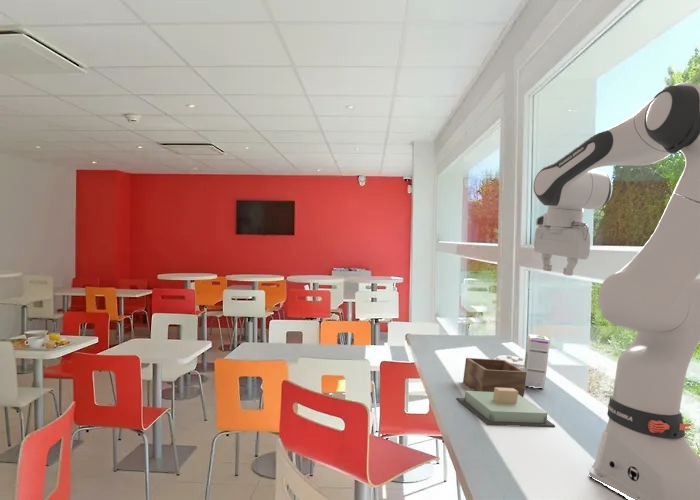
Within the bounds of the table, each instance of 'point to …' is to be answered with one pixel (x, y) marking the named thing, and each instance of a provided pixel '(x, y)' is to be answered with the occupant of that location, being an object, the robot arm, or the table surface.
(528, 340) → the syrup box
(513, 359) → the lid
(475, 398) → the green lid
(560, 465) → the table surface
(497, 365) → the walnut box
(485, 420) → the black mat
